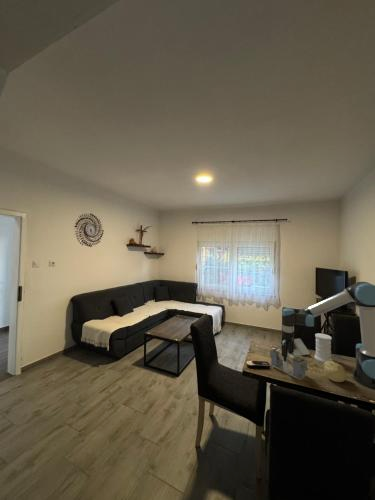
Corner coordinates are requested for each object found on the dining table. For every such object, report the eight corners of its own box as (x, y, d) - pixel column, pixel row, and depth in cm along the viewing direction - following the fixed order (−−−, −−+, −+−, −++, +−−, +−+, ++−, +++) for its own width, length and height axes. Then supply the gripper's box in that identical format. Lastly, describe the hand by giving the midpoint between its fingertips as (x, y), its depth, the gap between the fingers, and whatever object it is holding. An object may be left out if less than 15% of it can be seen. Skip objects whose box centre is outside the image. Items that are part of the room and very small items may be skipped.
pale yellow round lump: (320, 374, 142) (320, 358, 143) (337, 374, 142) (337, 358, 143) (331, 384, 131) (331, 367, 131) (350, 384, 131) (350, 367, 131)
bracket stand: (307, 375, 140) (307, 359, 140) (300, 380, 135) (300, 363, 135) (276, 361, 158) (276, 347, 158) (269, 365, 153) (269, 350, 153)
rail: (302, 365, 141) (301, 358, 141) (298, 367, 138) (298, 360, 138) (278, 355, 154) (278, 348, 155) (274, 356, 152) (274, 350, 152)
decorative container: (312, 354, 170) (312, 332, 171) (328, 356, 167) (328, 334, 167) (317, 361, 159) (317, 337, 159) (334, 364, 156) (334, 339, 156)
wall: (308, 358, 172) (299, 340, 184) (311, 353, 166) (301, 335, 178) (288, 361, 172) (280, 343, 184) (290, 356, 167) (282, 338, 178)
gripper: (289, 327, 155) (289, 358, 154) (275, 331, 145) (275, 365, 144) (299, 330, 149) (299, 363, 148) (286, 335, 139) (286, 370, 138)
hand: (287, 364), depth 146 cm, fingers closed on rail, 4 cm apart
